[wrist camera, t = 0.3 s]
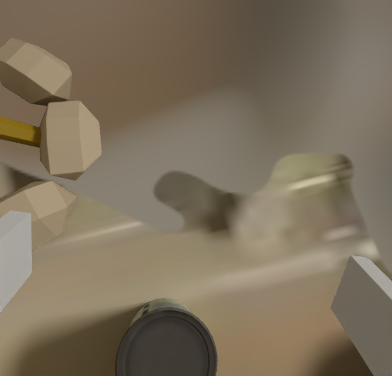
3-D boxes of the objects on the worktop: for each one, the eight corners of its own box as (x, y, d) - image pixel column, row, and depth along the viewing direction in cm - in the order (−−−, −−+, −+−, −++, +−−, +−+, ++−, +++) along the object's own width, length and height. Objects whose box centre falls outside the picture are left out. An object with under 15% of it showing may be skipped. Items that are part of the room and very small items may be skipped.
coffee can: (199, 374, 44) (218, 419, 30) (125, 376, 42) (110, 424, 29) (199, 297, 46) (217, 307, 33) (130, 297, 45) (119, 307, 32)
